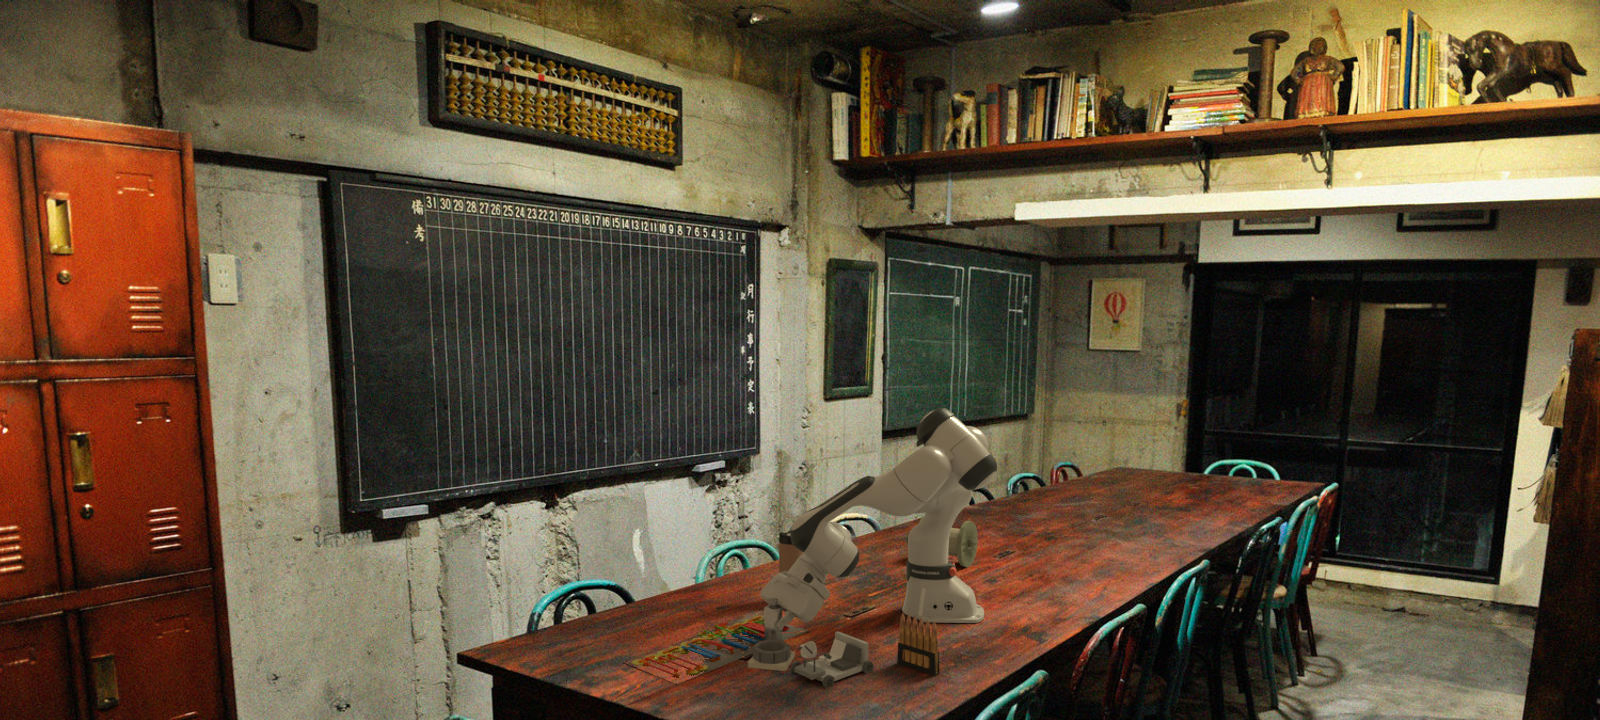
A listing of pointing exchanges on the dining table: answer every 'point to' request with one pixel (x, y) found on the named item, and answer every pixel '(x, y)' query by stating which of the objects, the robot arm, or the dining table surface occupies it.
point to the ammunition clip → (918, 646)
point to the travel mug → (787, 552)
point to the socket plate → (771, 655)
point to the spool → (963, 543)
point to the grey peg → (772, 620)
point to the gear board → (717, 646)
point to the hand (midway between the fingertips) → (771, 624)
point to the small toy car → (834, 660)
